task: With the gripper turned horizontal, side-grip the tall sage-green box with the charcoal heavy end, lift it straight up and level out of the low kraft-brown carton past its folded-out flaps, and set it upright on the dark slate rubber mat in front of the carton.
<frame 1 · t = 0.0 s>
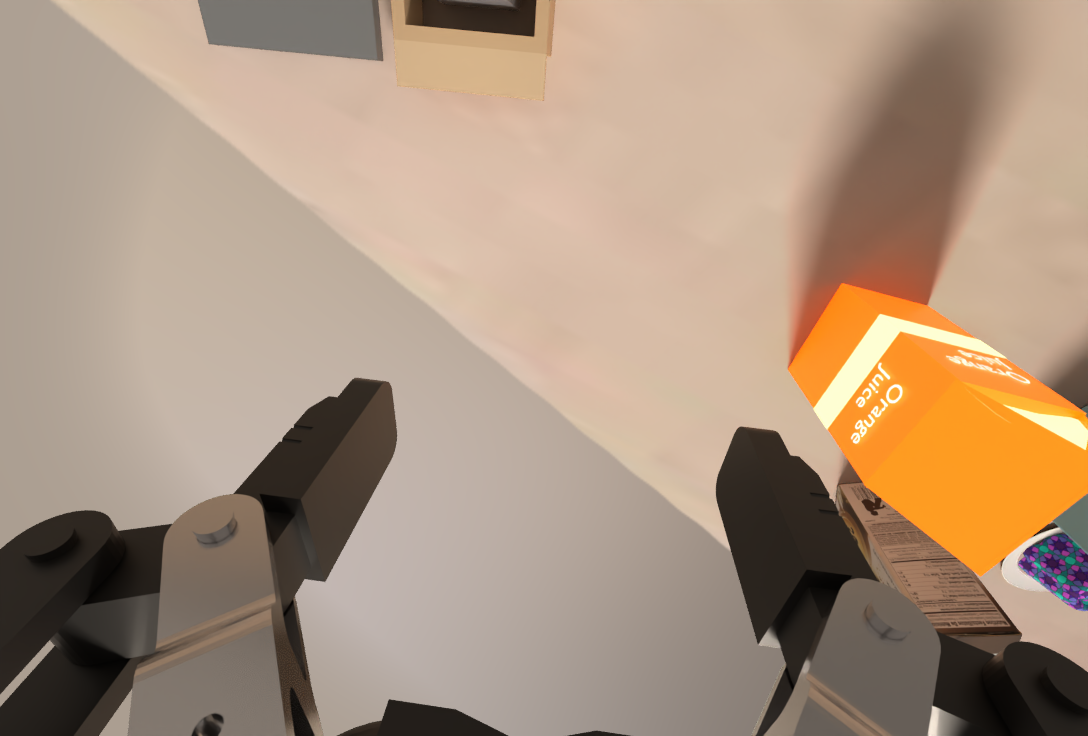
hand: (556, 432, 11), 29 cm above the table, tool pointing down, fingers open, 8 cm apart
data package: (1068, 432, 43), on the table
pudding: (1059, 551, 51), on the table
coffee box: (864, 508, 50), on the table
orange juice: (852, 338, 40), on the table
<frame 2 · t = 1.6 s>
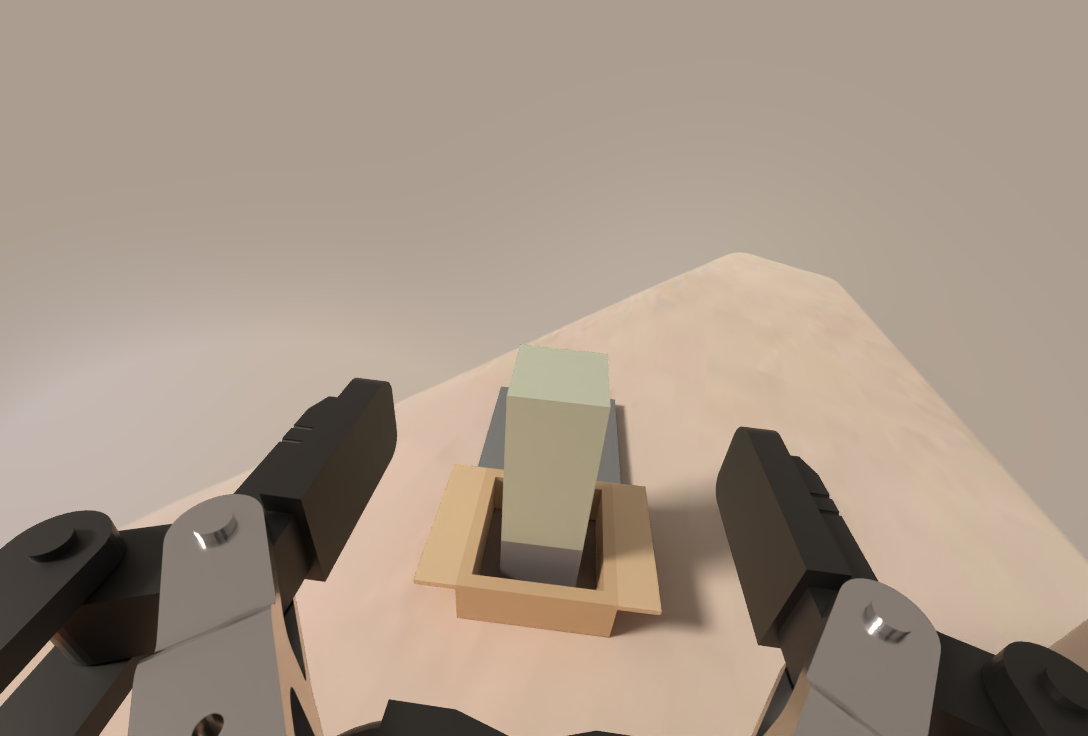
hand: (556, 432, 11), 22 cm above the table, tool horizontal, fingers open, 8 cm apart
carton: (539, 559, 33), on the table
slate mat: (552, 438, 44), on the table
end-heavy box: (549, 480, 28), in the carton
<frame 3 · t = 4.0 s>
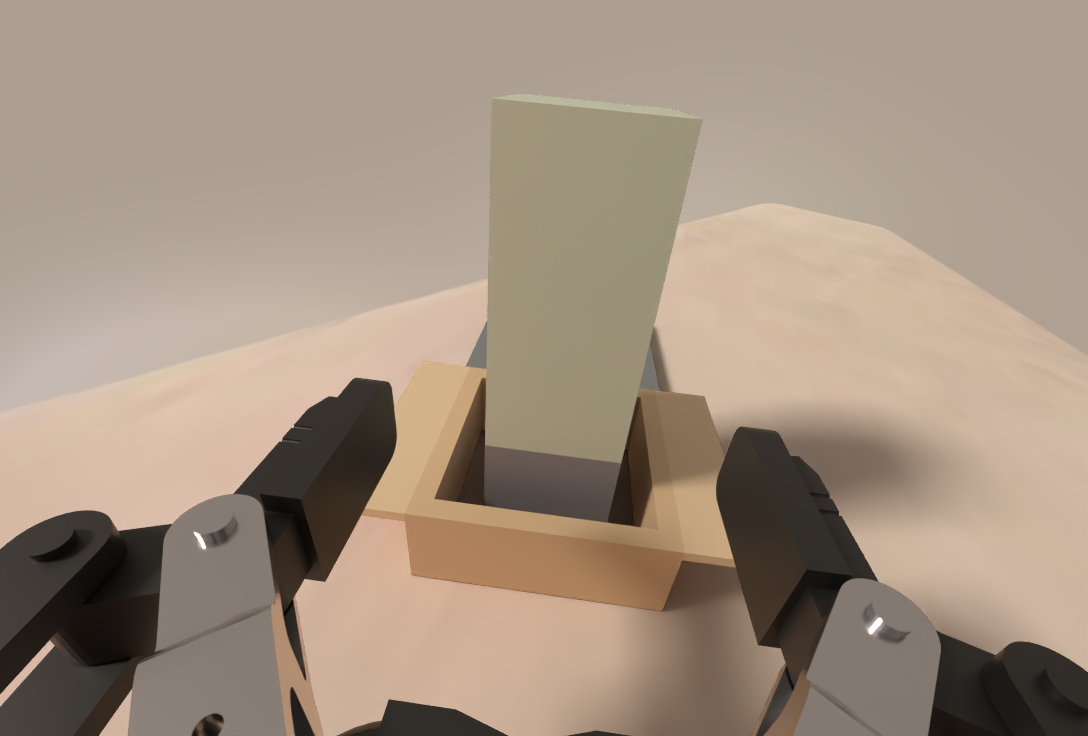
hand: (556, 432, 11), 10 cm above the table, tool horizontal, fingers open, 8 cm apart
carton: (547, 496, 21), on the table
slate mat: (564, 356, 32), on the table
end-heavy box: (565, 349, 17), in the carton
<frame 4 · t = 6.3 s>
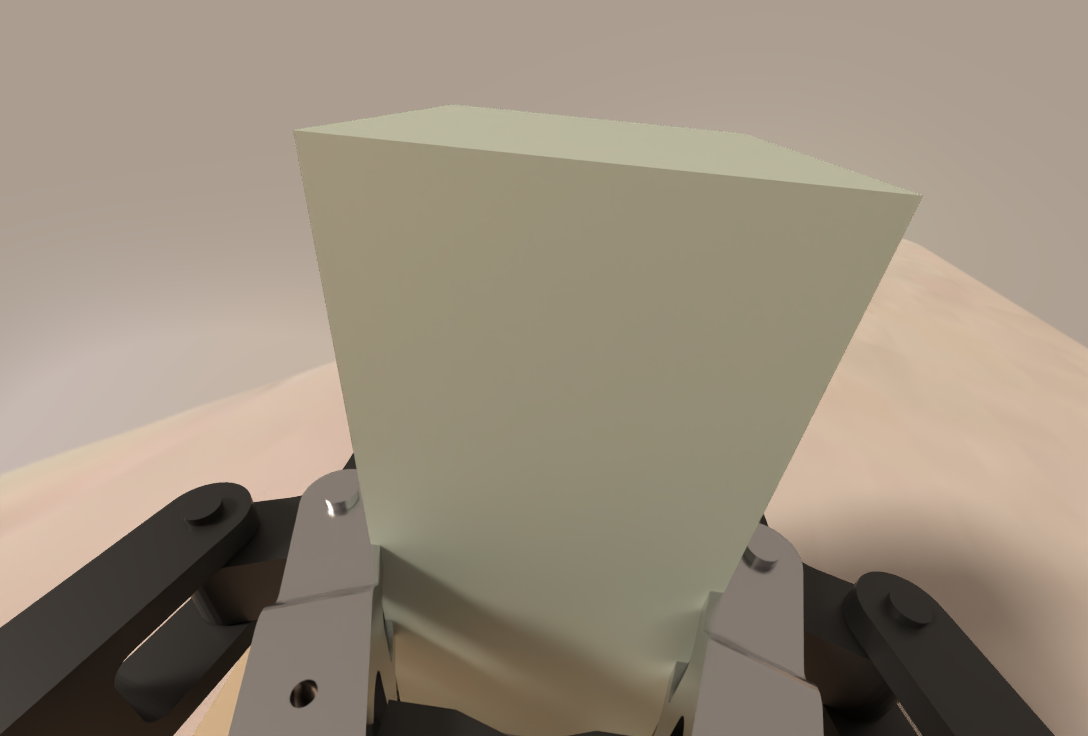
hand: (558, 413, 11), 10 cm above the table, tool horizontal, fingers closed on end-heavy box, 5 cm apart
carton: (524, 705, 14), on the table
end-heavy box: (545, 541, 10), in the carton, touching gripper
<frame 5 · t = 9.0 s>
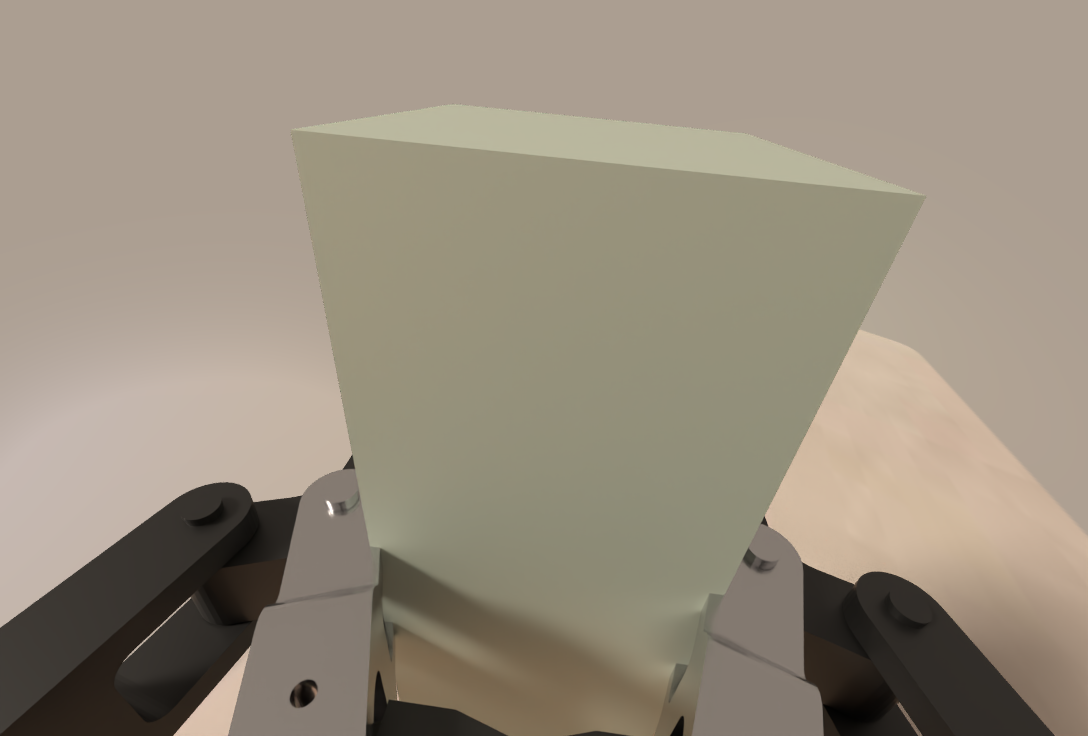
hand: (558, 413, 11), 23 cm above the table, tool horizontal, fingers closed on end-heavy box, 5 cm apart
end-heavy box: (545, 542, 10), point 21 cm above the table, touching gripper
when the fingers open (12 cm above the table, at t = 11.9 s): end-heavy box drops 1 cm, resting on slate mat.
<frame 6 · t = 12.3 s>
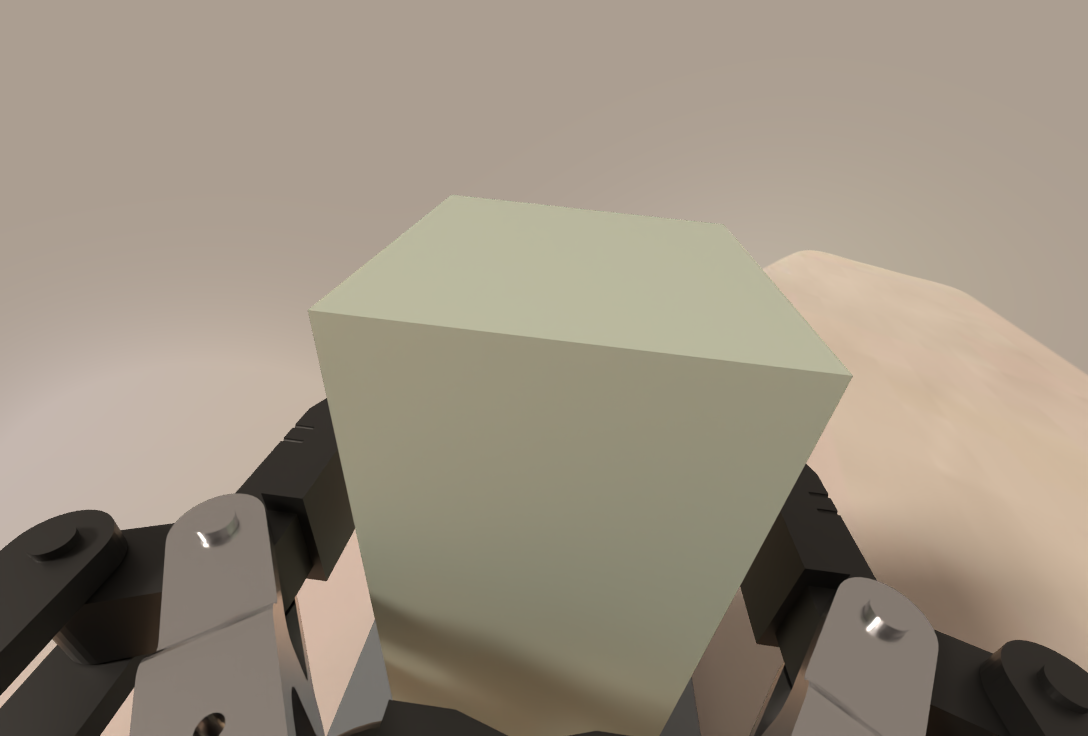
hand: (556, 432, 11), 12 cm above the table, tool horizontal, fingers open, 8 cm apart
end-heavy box: (538, 589, 11), on the slate mat, point 9 cm above the table
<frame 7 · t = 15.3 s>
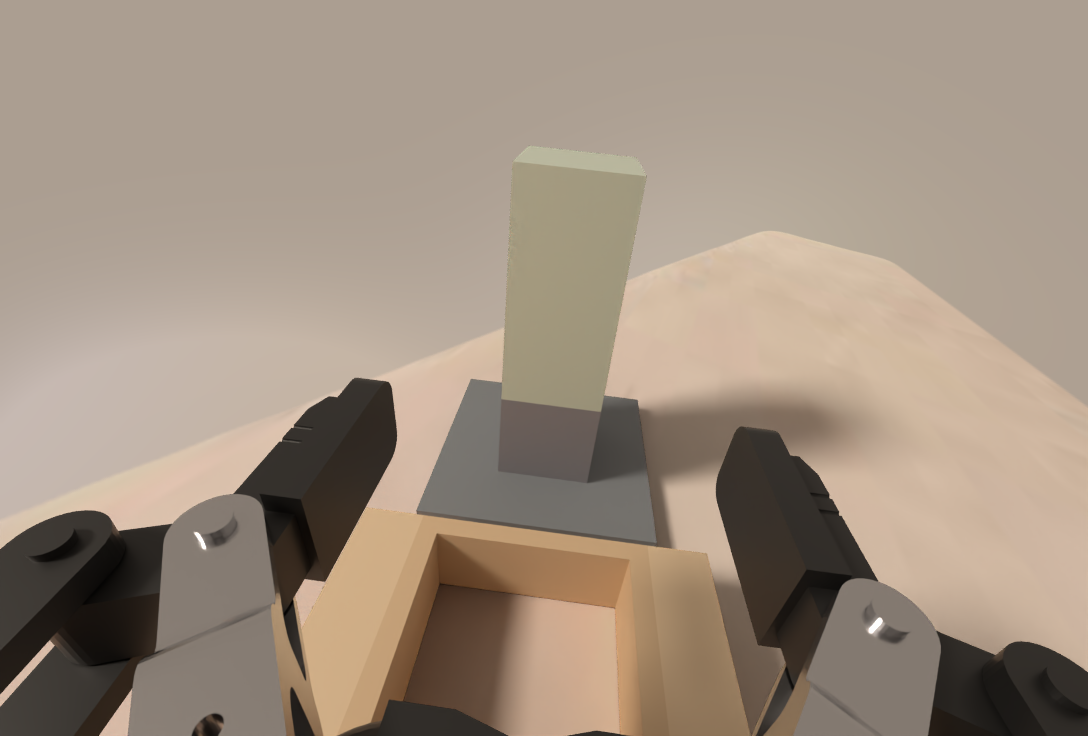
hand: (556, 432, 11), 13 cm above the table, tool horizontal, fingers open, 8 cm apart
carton: (513, 695, 17), on the table
slate mat: (544, 457, 28), on the table
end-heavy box: (560, 329, 23), on the slate mat, point 9 cm above the table
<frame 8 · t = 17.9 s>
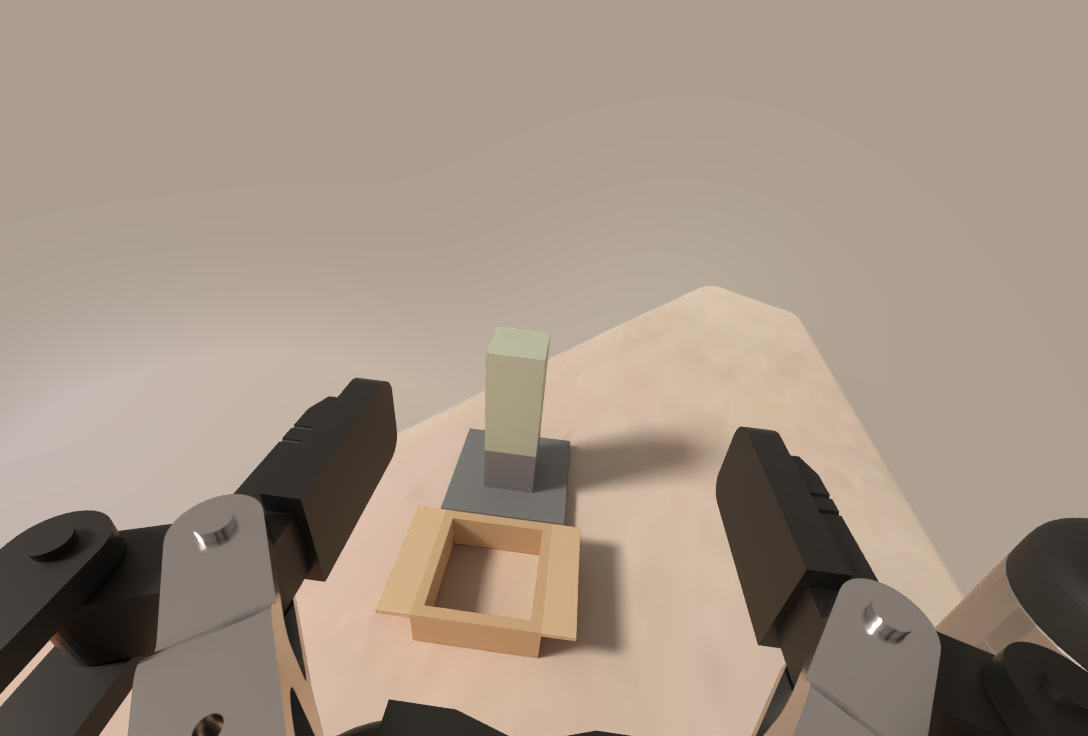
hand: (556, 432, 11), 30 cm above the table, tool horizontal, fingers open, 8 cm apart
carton: (487, 589, 39), on the table
slate mat: (511, 477, 50), on the table
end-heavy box: (515, 413, 45), on the slate mat, point 9 cm above the table
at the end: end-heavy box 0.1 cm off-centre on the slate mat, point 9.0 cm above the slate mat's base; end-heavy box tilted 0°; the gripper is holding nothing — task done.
